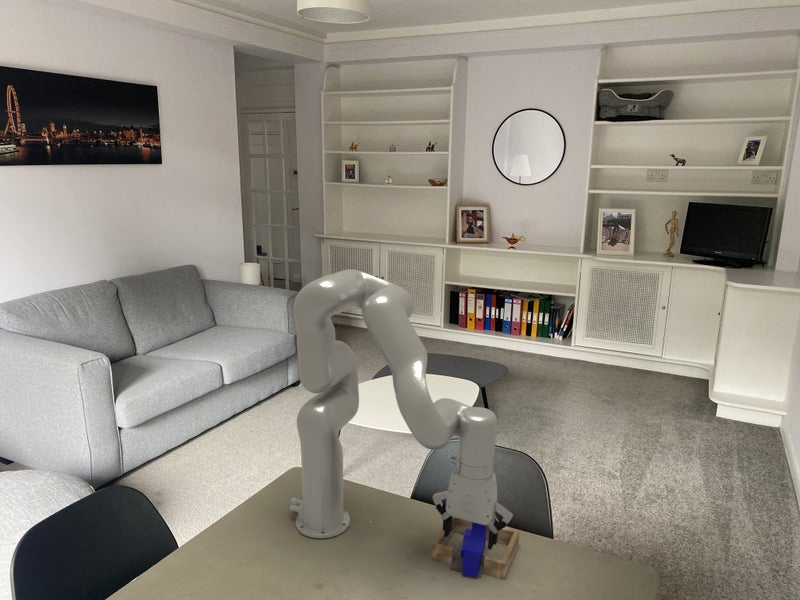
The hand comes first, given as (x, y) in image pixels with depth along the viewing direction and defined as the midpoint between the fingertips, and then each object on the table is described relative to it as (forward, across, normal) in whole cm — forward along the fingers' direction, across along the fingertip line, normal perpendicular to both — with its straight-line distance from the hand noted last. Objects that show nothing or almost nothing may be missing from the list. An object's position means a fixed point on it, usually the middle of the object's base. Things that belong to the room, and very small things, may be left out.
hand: (469, 539), depth 132 cm
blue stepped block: (+5, +1, 0) cm, 5 cm away
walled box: (+5, +1, +4) cm, 6 cm away
